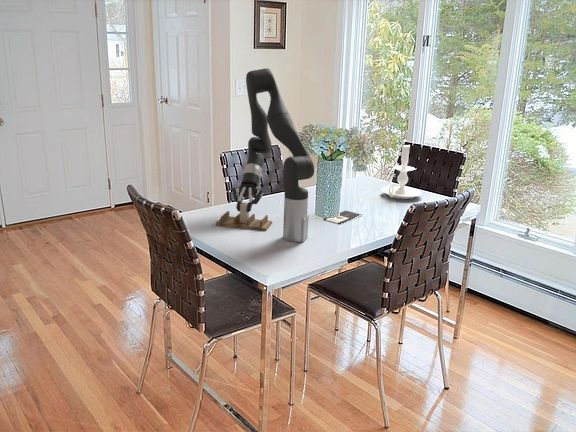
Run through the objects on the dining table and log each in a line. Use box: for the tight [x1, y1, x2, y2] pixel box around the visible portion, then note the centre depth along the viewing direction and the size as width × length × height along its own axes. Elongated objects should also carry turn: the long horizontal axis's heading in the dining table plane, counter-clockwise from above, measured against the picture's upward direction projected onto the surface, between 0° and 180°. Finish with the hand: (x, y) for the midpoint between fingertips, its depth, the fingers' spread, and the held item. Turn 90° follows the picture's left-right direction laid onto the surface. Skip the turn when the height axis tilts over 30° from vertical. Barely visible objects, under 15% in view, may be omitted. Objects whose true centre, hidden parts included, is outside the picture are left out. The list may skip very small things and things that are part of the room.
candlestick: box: [381, 144, 422, 200], centre depth 272 cm, size 21×25×28 cm
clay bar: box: [239, 202, 250, 223], centre depth 223 cm, size 3×3×8 cm
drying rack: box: [215, 210, 273, 232], centre depth 224 cm, size 22×10×4 cm, turn 77°
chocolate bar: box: [323, 210, 362, 225], centre depth 239 cm, size 9×1×18 cm
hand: (243, 210), depth 221 cm, fingers open, 3 cm apart
